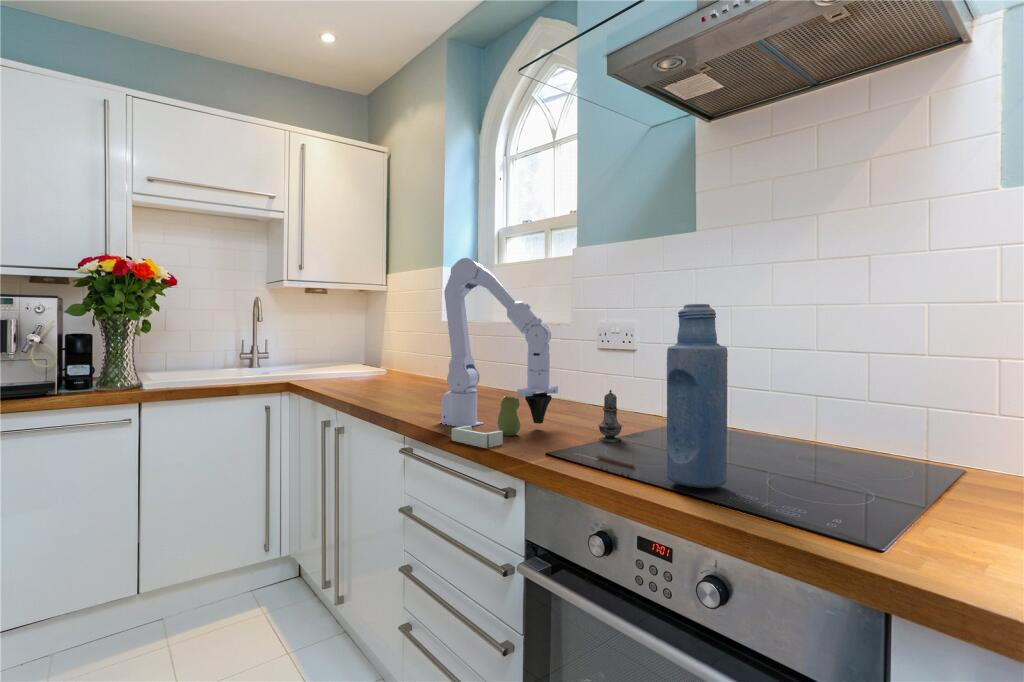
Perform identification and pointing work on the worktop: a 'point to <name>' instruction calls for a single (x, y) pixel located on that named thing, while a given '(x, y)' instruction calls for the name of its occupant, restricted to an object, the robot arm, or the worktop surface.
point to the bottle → (697, 401)
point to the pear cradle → (477, 437)
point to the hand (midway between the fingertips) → (538, 423)
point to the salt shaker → (610, 419)
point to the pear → (509, 416)
